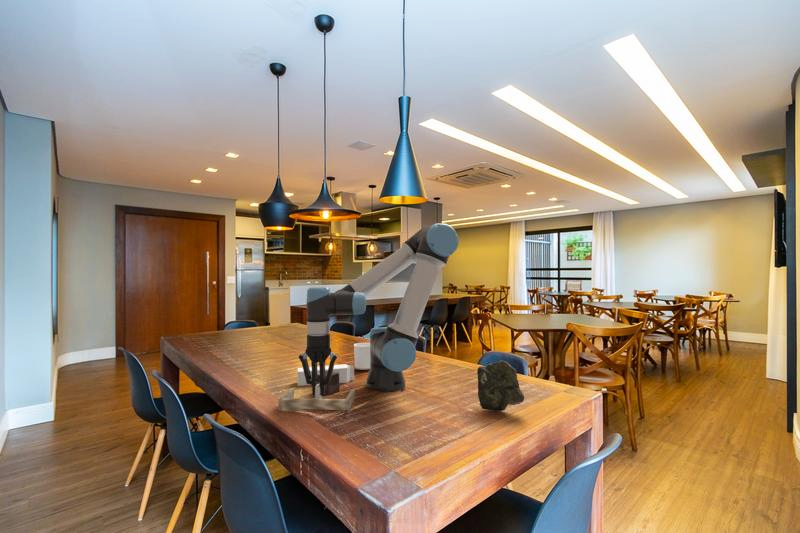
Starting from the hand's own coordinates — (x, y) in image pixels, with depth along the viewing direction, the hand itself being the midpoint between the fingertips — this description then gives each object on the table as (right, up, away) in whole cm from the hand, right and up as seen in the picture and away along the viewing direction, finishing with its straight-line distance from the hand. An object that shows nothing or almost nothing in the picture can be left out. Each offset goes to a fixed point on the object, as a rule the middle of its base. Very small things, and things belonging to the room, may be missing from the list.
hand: (318, 404), depth 127 cm
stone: (+59, 0, -5) cm, 59 cm away
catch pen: (0, 0, 0) cm, 0 cm away
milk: (-13, +3, +21) cm, 25 cm away
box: (+1, 0, +11) cm, 12 cm away
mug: (+12, 0, +47) cm, 48 cm away
